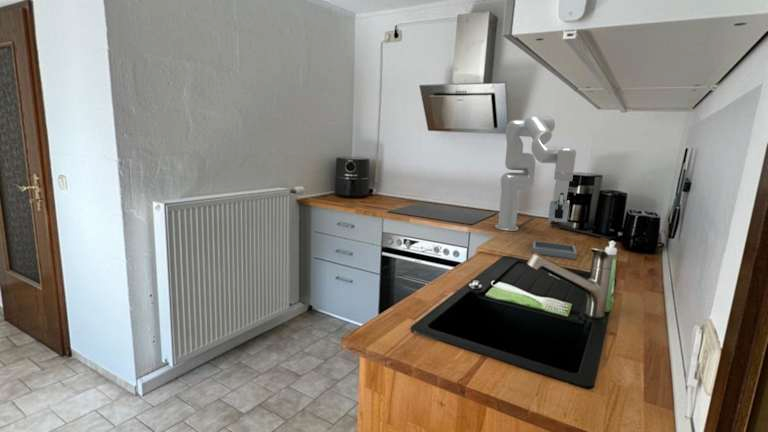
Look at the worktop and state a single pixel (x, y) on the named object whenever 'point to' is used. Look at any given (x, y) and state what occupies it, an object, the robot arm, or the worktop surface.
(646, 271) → the worktop surface
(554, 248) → the tray
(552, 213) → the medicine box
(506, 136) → the robot arm
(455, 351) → the worktop surface
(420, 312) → the worktop surface
